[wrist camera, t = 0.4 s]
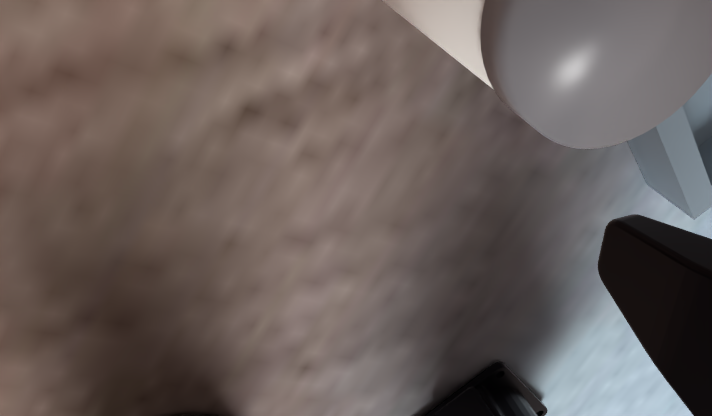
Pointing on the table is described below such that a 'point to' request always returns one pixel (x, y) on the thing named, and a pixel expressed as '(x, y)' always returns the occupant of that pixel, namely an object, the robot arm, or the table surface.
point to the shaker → (577, 59)
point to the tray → (681, 154)
